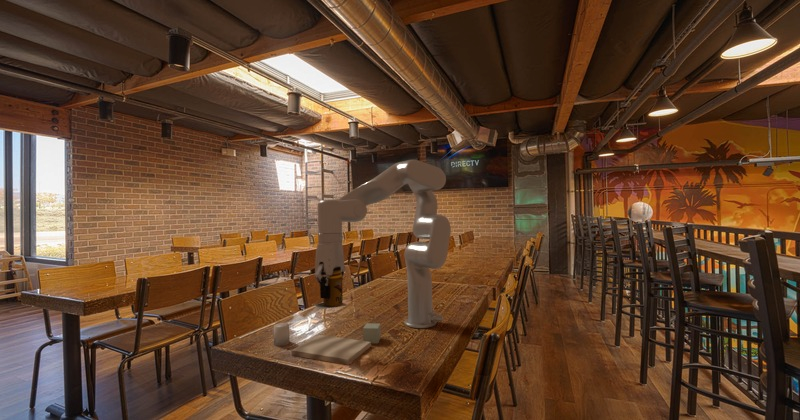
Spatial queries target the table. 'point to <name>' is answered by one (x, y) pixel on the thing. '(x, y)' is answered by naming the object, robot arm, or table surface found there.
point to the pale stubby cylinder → (281, 334)
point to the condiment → (333, 291)
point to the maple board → (332, 349)
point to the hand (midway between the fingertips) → (331, 295)
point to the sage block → (372, 332)
